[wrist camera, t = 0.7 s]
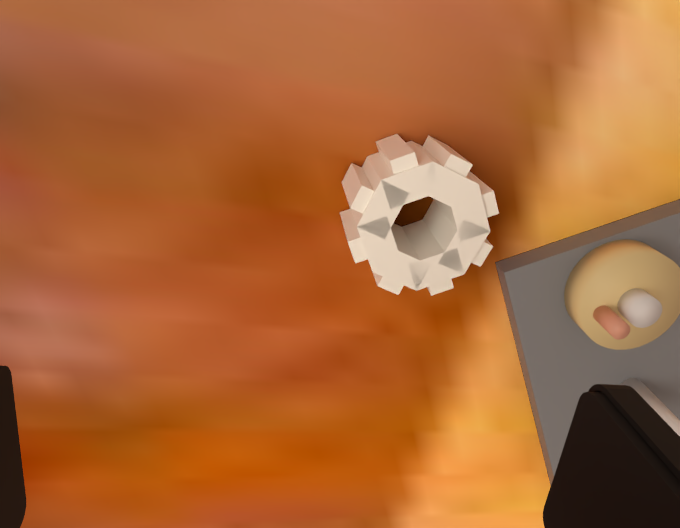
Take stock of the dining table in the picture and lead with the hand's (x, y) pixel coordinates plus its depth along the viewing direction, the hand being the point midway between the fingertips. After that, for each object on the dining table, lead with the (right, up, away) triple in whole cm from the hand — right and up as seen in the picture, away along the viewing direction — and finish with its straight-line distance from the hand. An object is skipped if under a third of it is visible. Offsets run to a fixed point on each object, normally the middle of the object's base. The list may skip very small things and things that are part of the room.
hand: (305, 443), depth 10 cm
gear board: (+19, -4, +28) cm, 34 cm away
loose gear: (+4, +7, +22) cm, 24 cm away
